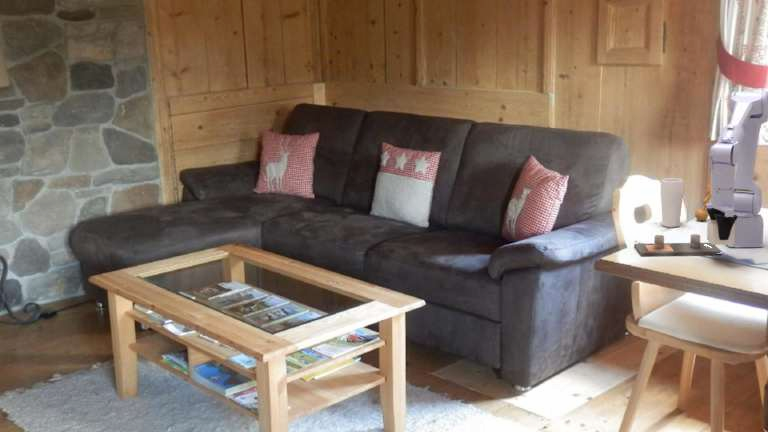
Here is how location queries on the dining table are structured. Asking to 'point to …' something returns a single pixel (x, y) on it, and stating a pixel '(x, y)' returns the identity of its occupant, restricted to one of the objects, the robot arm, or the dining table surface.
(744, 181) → the robot arm
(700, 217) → the tan bulb-shaped piece
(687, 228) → the dining table surface
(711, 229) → the sleeve
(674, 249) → the pin board
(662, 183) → the white tall cup
